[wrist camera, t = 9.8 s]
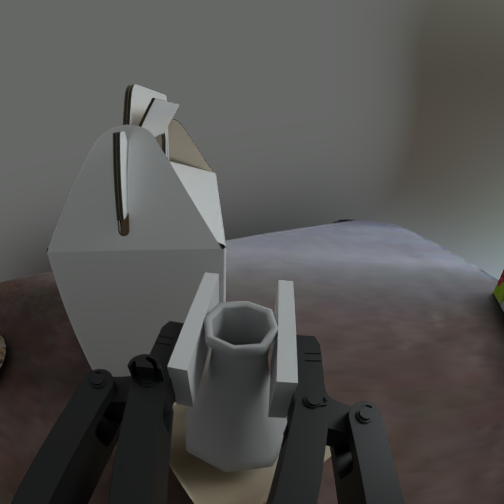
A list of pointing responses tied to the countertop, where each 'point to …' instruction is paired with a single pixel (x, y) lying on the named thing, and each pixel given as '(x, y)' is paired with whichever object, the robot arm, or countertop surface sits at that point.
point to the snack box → (500, 291)
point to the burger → (2, 349)
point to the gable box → (137, 234)
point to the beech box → (216, 473)
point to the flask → (236, 391)
